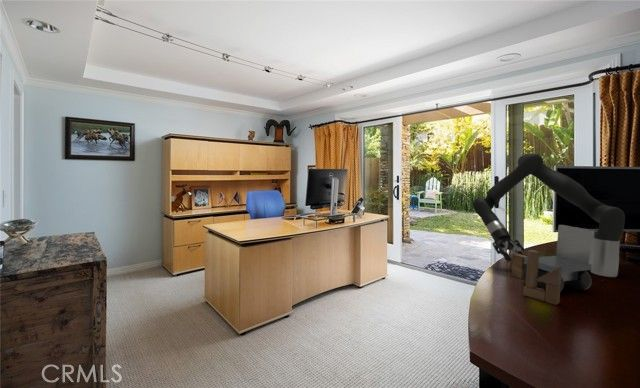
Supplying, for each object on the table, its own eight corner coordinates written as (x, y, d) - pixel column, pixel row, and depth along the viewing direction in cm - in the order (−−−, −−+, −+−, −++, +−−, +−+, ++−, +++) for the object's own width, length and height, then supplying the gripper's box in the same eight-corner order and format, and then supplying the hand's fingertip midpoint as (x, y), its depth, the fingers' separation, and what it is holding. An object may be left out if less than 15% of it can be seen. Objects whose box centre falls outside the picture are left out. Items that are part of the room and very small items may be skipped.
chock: (518, 274, 143) (519, 254, 142) (527, 278, 138) (529, 257, 137) (511, 275, 141) (512, 254, 141) (521, 279, 137) (522, 257, 136)
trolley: (553, 279, 137) (557, 224, 136) (593, 292, 122) (598, 230, 120) (519, 282, 132) (523, 225, 130) (556, 297, 117) (561, 232, 115)
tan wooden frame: (556, 305, 109) (559, 256, 108) (522, 295, 118) (525, 250, 117) (559, 303, 111) (563, 255, 110) (526, 293, 120) (529, 249, 119)
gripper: (491, 227, 147) (510, 257, 136) (514, 226, 150) (534, 255, 140) (482, 236, 152) (499, 265, 142) (504, 235, 156) (523, 263, 146)
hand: (516, 260), depth 141 cm, fingers open, 8 cm apart
